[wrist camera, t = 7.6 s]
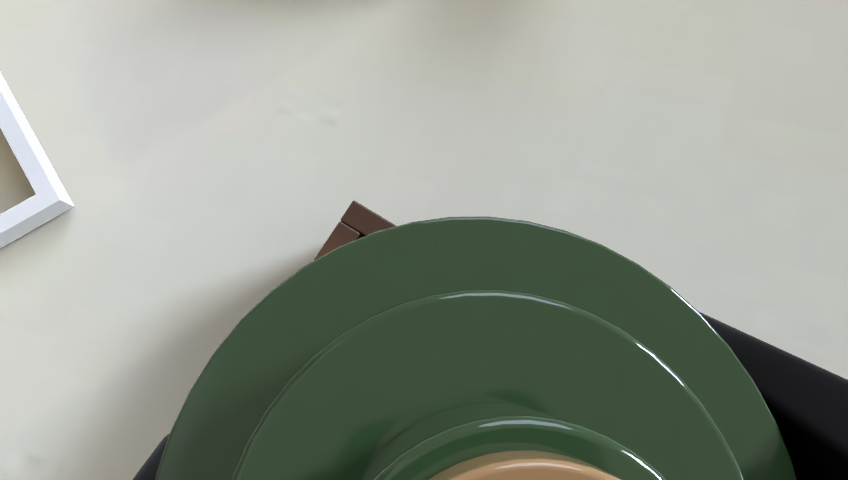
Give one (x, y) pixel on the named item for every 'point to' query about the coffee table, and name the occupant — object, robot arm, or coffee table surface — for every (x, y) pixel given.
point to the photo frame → (28, 174)
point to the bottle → (474, 370)
